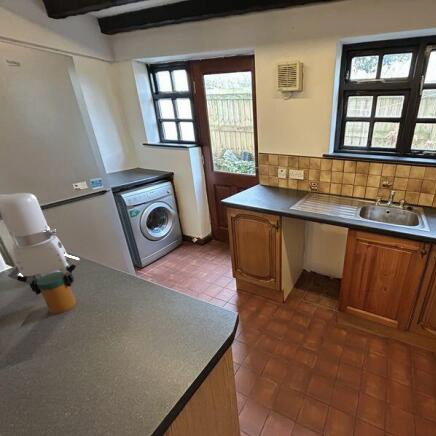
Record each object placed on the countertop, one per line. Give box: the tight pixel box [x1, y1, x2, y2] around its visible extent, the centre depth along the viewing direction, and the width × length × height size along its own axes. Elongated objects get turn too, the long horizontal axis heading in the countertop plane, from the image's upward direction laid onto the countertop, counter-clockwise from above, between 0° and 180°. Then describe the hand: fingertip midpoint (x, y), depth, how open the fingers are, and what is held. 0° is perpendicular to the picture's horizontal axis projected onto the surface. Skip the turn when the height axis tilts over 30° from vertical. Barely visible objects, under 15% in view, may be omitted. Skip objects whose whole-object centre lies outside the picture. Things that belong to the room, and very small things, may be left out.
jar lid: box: [36, 272, 66, 290], centre depth 74 cm, size 7×7×2 cm
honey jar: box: [40, 282, 77, 315], centre depth 76 cm, size 6×6×11 cm
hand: (55, 287), depth 75 cm, fingers closed on jar lid, 6 cm apart
